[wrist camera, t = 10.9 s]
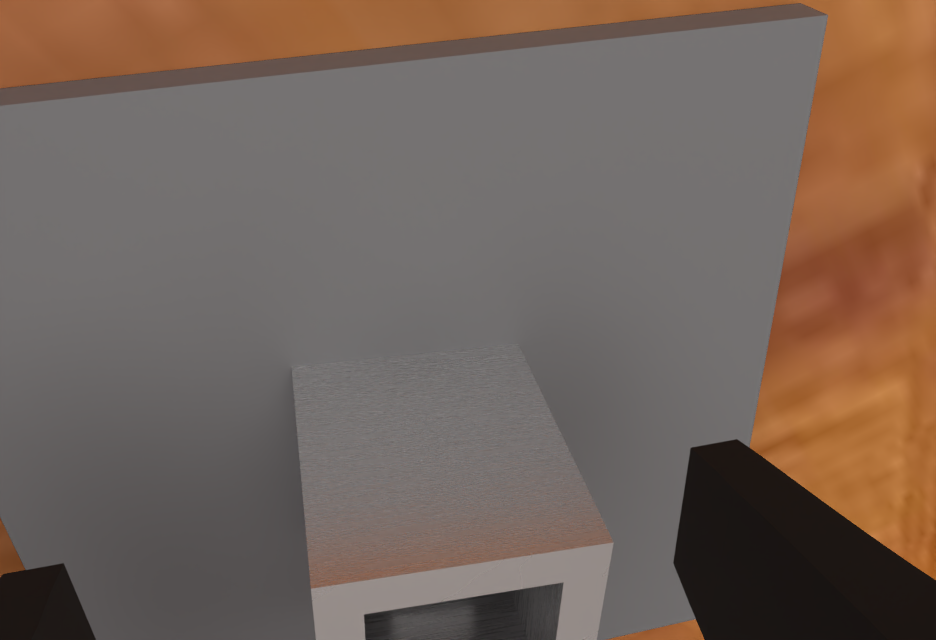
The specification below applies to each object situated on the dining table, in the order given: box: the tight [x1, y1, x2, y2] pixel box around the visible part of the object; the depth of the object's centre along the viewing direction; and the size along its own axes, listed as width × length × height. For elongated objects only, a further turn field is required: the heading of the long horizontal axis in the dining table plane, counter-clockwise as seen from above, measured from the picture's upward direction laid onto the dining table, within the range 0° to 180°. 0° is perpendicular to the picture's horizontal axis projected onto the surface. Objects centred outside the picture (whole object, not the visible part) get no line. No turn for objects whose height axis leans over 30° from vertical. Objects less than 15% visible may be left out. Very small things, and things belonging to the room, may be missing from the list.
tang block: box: [0, 3, 828, 640], centre depth 19 cm, size 18×18×4 cm
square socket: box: [292, 344, 614, 640], centre depth 18 cm, size 5×5×6 cm
